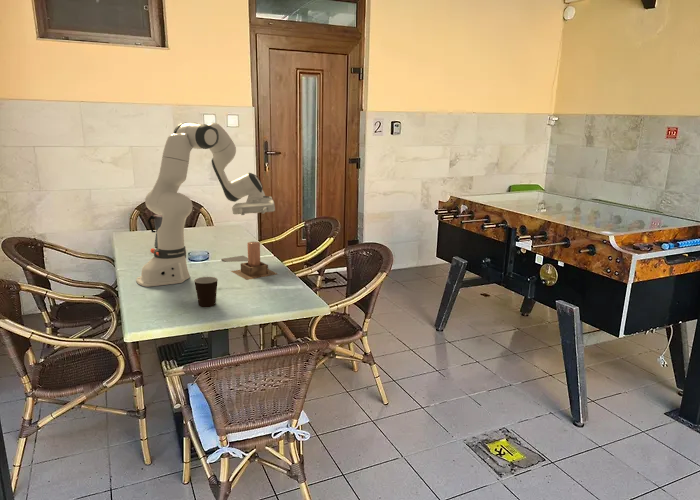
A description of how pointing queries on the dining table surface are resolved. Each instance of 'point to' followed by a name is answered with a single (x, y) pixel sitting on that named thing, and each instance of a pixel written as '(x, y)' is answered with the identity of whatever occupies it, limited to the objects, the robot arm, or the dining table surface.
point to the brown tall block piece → (253, 254)
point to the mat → (235, 259)
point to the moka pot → (158, 223)
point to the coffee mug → (206, 291)
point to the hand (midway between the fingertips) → (252, 212)
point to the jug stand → (254, 271)
